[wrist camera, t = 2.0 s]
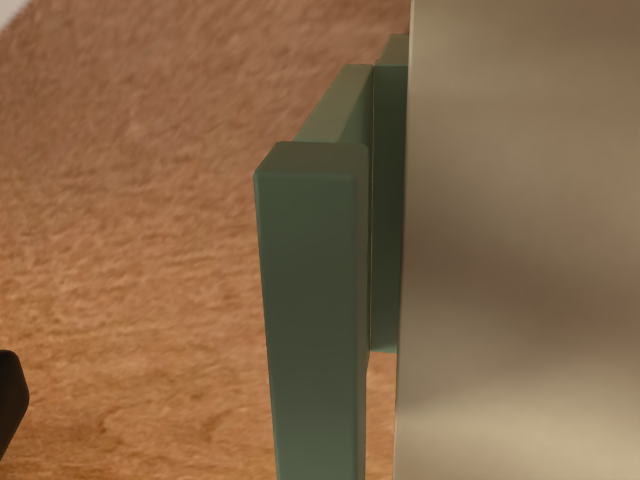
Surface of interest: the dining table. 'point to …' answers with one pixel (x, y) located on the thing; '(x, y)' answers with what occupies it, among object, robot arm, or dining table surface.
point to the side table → (520, 243)
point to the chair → (333, 264)
